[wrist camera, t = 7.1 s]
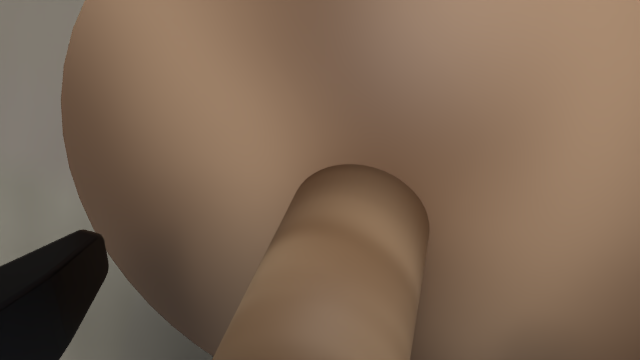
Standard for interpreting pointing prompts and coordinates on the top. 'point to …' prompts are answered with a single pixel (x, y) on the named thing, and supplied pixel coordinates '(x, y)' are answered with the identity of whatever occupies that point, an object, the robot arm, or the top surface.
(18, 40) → the top surface
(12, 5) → the top surface
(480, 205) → the lid
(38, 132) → the top surface
